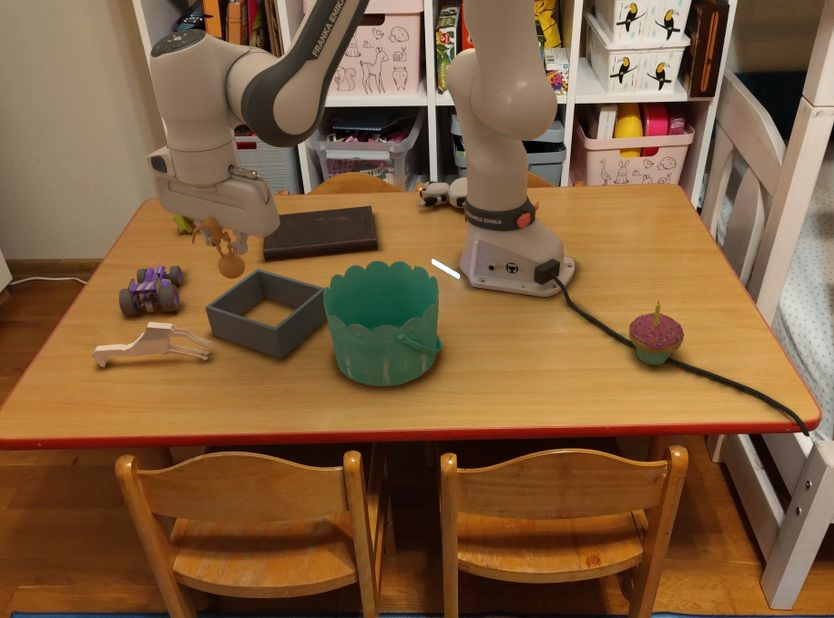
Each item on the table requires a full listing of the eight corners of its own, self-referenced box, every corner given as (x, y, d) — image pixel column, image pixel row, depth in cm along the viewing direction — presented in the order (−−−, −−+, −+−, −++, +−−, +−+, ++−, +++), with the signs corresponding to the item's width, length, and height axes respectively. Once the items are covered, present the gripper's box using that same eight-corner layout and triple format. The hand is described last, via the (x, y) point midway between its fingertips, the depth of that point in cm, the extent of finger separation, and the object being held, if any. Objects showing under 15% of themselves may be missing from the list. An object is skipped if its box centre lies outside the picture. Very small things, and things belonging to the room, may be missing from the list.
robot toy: (417, 217, 160) (484, 215, 157) (414, 199, 157) (482, 196, 154) (425, 193, 169) (488, 190, 167) (422, 175, 166) (487, 172, 164)
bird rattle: (216, 229, 162) (176, 215, 160) (226, 187, 155) (184, 172, 153) (208, 243, 157) (167, 228, 155) (217, 200, 150) (174, 185, 148)
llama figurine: (202, 382, 125) (93, 358, 121) (214, 333, 119) (99, 305, 114) (200, 389, 124) (90, 365, 119) (212, 339, 118) (96, 311, 113)
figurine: (262, 266, 112) (241, 194, 106) (261, 284, 108) (238, 210, 101) (209, 276, 112) (185, 204, 105) (205, 294, 107) (179, 221, 100)
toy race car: (190, 272, 143) (182, 244, 139) (177, 315, 131) (168, 285, 127) (141, 277, 142) (131, 248, 138) (124, 320, 131) (113, 290, 127)
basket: (335, 324, 127) (326, 262, 119) (438, 318, 128) (435, 255, 120) (329, 396, 112) (318, 329, 104) (446, 388, 113) (444, 321, 105)
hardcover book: (268, 225, 158) (266, 215, 156) (372, 214, 160) (371, 205, 158) (264, 262, 145) (262, 252, 144) (377, 250, 147) (377, 240, 146)
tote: (330, 316, 129) (325, 288, 126) (281, 359, 120) (275, 330, 116) (263, 295, 136) (257, 268, 132) (212, 335, 126) (204, 307, 122)
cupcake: (669, 378, 112) (682, 316, 105) (617, 361, 116) (626, 300, 109) (685, 349, 118) (699, 287, 111) (635, 334, 122) (645, 273, 114)
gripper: (280, 164, 96) (295, 254, 105) (170, 140, 104) (192, 225, 113) (249, 182, 92) (267, 274, 100) (136, 155, 100) (162, 243, 109)
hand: (227, 248), depth 107 cm, fingers closed on figurine, 4 cm apart
